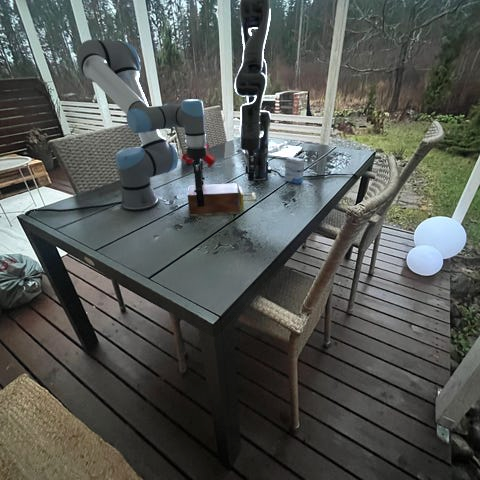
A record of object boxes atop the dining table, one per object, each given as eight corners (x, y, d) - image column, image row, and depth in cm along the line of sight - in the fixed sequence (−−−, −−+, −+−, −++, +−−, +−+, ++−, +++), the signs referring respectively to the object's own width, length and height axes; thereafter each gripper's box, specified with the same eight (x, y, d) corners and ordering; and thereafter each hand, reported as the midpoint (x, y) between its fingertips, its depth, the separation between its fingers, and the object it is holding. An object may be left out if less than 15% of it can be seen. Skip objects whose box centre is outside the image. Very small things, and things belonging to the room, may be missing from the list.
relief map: (291, 159, 177) (291, 151, 174) (243, 153, 190) (243, 145, 187) (302, 149, 197) (303, 142, 194) (258, 144, 211) (258, 137, 208)
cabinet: (236, 203, 121) (236, 183, 116) (238, 213, 112) (238, 192, 107) (191, 205, 120) (188, 185, 115) (189, 216, 111) (187, 195, 106)
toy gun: (219, 159, 165) (203, 138, 161) (216, 161, 162) (200, 139, 158) (199, 174, 175) (184, 155, 171) (196, 176, 172) (181, 156, 168)
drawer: (254, 200, 121) (254, 185, 117) (257, 210, 113) (258, 193, 109) (198, 203, 119) (196, 187, 115) (197, 213, 111) (196, 196, 107)
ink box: (302, 181, 142) (305, 159, 136) (297, 184, 139) (300, 161, 133) (289, 177, 147) (291, 156, 141) (284, 180, 144) (285, 158, 138)
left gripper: (187, 139, 111) (193, 190, 123) (183, 155, 91) (190, 213, 103) (206, 138, 111) (209, 189, 123) (206, 154, 92) (210, 212, 104)
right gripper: (238, 131, 107) (238, 171, 116) (242, 139, 95) (242, 184, 104) (257, 131, 107) (256, 171, 116) (263, 139, 96) (261, 183, 104)
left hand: (201, 200), depth 113 cm, fingers closed on cabinet, 10 cm apart
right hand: (249, 177), depth 110 cm, fingers open, 8 cm apart
